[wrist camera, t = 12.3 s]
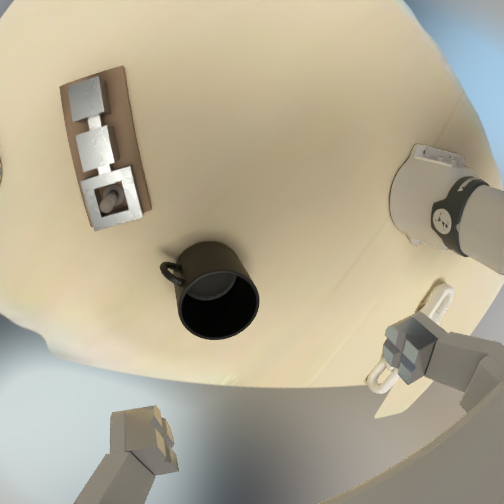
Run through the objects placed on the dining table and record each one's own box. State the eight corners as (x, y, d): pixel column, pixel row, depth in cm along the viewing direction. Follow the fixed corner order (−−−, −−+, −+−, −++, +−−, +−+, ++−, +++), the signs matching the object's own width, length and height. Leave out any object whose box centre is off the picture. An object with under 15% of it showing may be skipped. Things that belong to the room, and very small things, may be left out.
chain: (372, 382, 66) (385, 398, 61) (358, 379, 64) (372, 396, 58) (445, 284, 61) (463, 296, 55) (436, 275, 58) (455, 288, 52)
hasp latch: (68, 94, 26) (56, 90, 22) (116, 79, 27) (110, 72, 23) (98, 225, 33) (91, 237, 29) (143, 212, 34) (141, 223, 30)
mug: (176, 220, 38) (181, 245, 30) (252, 258, 43) (275, 289, 35) (145, 279, 39) (143, 317, 31) (219, 310, 45) (233, 349, 37)
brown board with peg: (124, 68, 28) (116, 54, 22) (151, 206, 36) (149, 223, 30) (63, 88, 27) (43, 80, 20) (93, 223, 34) (80, 243, 28)
